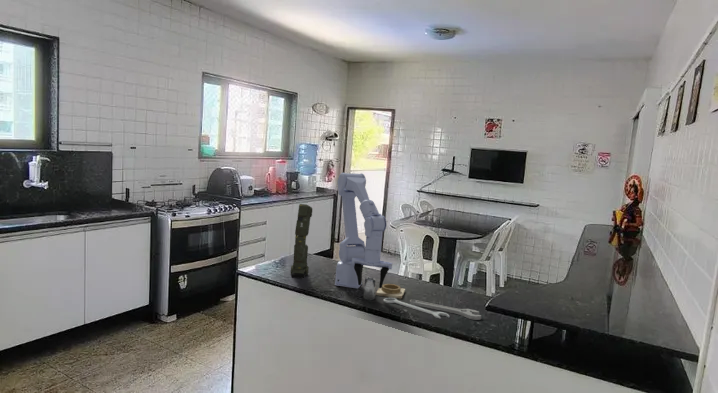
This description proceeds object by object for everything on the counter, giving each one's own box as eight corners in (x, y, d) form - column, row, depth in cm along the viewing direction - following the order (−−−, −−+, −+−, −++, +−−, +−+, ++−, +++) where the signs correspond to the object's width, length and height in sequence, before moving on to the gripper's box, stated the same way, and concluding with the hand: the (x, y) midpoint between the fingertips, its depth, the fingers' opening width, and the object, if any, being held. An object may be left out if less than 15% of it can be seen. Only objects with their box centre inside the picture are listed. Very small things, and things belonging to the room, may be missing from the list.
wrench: (444, 323, 150) (451, 318, 155) (445, 318, 150) (451, 314, 154) (380, 302, 164) (387, 298, 168) (380, 298, 164) (388, 294, 168)
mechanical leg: (305, 278, 180) (312, 203, 184) (287, 277, 180) (294, 201, 185) (309, 277, 194) (315, 207, 198) (292, 276, 194) (298, 205, 198)
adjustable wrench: (408, 305, 164) (408, 300, 163) (414, 300, 169) (415, 295, 169) (478, 322, 152) (478, 316, 152) (482, 316, 158) (483, 311, 158)
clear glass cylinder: (362, 298, 165) (364, 278, 164) (364, 295, 169) (366, 275, 168) (373, 300, 164) (375, 279, 164) (375, 296, 168) (377, 277, 167)
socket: (375, 295, 170) (376, 288, 170) (380, 287, 180) (381, 281, 179) (401, 298, 168) (402, 292, 168) (404, 291, 178) (405, 285, 177)
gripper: (350, 248, 162) (348, 286, 164) (391, 253, 159) (388, 291, 161) (355, 245, 169) (352, 280, 171) (394, 249, 166) (391, 286, 168)
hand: (370, 285), depth 166 cm, fingers open, 7 cm apart
